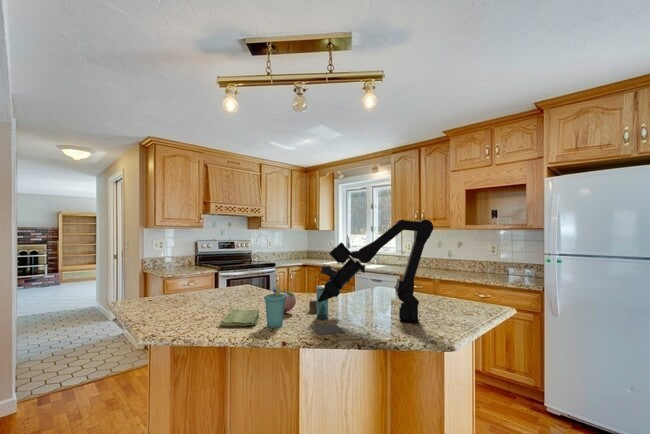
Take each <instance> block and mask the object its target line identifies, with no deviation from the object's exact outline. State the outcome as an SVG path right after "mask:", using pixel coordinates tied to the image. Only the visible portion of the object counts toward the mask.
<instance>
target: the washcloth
mask: <svg viewBox="0 0 650 434" xmlns="http://www.w3.org/2000/svg"><path fill="white" fill-rule="evenodd" d="M259 318H260V309H239V308H233V309H232V308H230V310H228V312H227V314H226V315H225V316H224V317H223V318H222V319H221V321H220V322H219V323H220V324H219V327H221V328H232V327H234V328H235V327H236V328H238V327H239V326H240V327H257V325H258V321H259Z"/></svg>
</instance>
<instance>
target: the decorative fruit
mask: <svg viewBox="0 0 650 434" xmlns="http://www.w3.org/2000/svg"><path fill="white" fill-rule="evenodd" d="M280 294H283V295H285V296H286V299H285V303H284V313H283V314H286V313H288V312H289V311H291V310H292V309H293V308H294V307H295V305H296V303H297V298H296V295H295V294H294V292H292V291H286V288H284V290H280Z"/></svg>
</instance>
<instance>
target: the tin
mask: <svg viewBox="0 0 650 434" xmlns="http://www.w3.org/2000/svg"><path fill="white" fill-rule="evenodd" d="M324 285H325V284H324ZM324 285H321V284H320V285H316V286H315V287H316V288H315V289H316V299H317V300H318V299H319V297H320V296H321V294H322V293H323V292H324V290H325V286H324ZM316 318H317V319H319V320H321V319H323V320H325V319H328V318H329V299H327V300H324V301H322V302H318V301H317V312H316Z"/></svg>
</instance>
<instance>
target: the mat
mask: <svg viewBox="0 0 650 434" xmlns="http://www.w3.org/2000/svg"><path fill="white" fill-rule="evenodd" d="M311 327H312V328H311V329H312V330H314V331H315V332H316V333H317V334H318V335H319V336H323V335H333V334H343V333H345V330H344V329H342V328H341V327H340V326H339V325H337V324H336V323H330V324H329V323H328V324H319V325H311Z"/></svg>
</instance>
